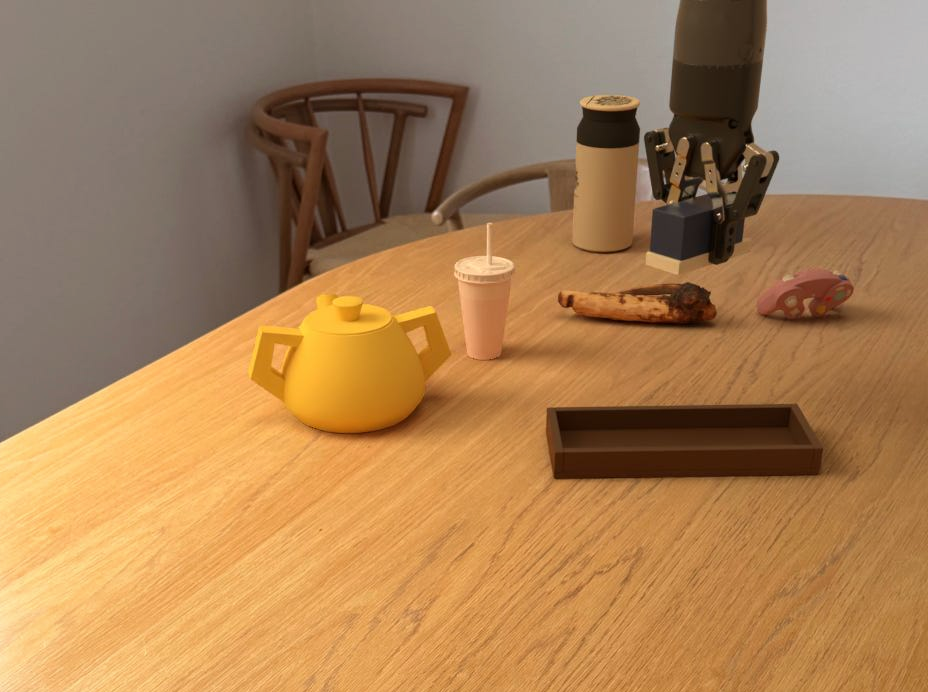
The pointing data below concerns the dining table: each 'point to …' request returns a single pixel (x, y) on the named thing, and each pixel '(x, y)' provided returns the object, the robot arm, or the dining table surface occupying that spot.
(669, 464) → the shallow brown tray
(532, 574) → the dining table surface
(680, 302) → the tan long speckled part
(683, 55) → the robot arm
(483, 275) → the smoothie
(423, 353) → the teapot
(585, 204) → the travel mug
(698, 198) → the navy block
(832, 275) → the video game controller
